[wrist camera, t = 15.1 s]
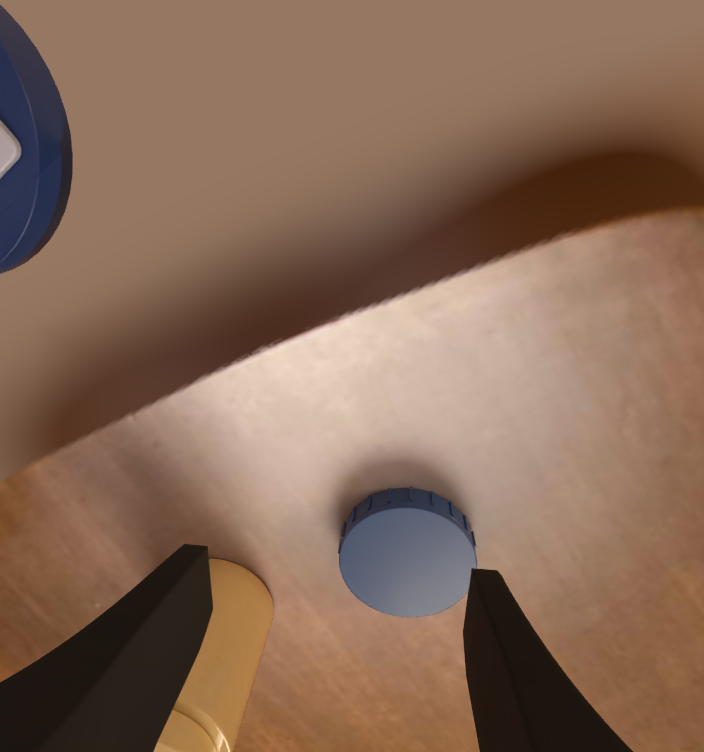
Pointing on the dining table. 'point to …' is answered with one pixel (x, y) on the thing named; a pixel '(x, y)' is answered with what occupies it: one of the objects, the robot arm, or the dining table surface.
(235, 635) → the jar
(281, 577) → the dining table surface
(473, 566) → the lid
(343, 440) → the dining table surface
